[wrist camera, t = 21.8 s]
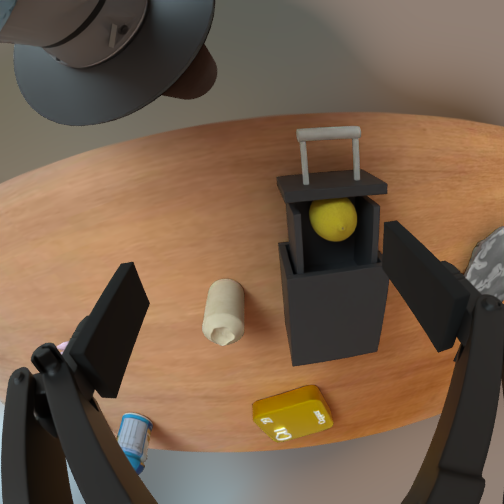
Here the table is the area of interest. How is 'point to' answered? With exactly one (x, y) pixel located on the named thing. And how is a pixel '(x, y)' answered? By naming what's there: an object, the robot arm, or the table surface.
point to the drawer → (328, 187)
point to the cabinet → (332, 310)
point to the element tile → (293, 414)
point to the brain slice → (488, 265)
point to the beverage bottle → (135, 439)
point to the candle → (224, 312)
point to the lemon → (333, 218)
